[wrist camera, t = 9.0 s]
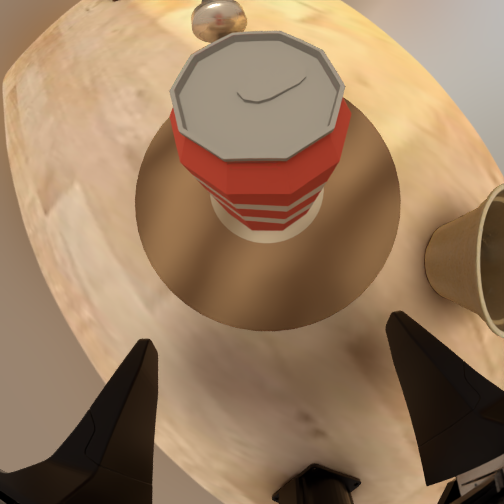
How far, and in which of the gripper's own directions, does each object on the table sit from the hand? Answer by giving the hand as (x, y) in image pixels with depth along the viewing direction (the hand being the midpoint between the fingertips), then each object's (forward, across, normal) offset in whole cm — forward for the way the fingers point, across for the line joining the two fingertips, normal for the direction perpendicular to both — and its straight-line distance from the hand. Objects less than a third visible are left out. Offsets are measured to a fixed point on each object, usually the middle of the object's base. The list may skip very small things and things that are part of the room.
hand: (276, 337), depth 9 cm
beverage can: (+12, -1, 0) cm, 12 cm away
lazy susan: (+13, -1, 0) cm, 13 cm away
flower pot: (+8, -16, +5) cm, 19 cm away
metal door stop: (+21, +1, -9) cm, 22 cm away
